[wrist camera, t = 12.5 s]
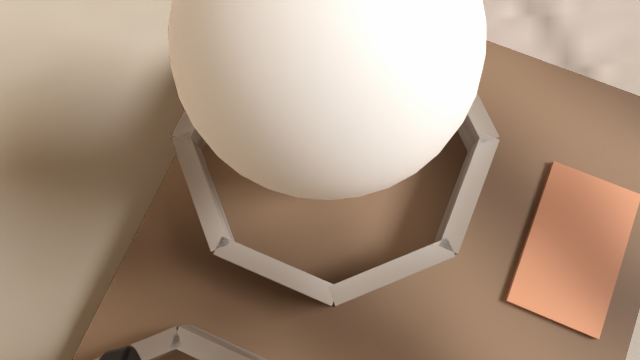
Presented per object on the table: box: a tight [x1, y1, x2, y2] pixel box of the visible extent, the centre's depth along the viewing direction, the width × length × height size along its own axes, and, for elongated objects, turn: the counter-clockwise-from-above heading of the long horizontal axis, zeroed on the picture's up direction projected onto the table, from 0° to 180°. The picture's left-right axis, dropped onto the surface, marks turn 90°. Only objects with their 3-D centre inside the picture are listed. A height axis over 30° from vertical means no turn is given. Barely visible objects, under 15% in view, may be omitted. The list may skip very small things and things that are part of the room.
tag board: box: [72, 40, 640, 360], centre depth 17 cm, size 24×16×2 cm, turn 157°
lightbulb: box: [168, 0, 486, 200], centre depth 13 cm, size 6×6×11 cm
